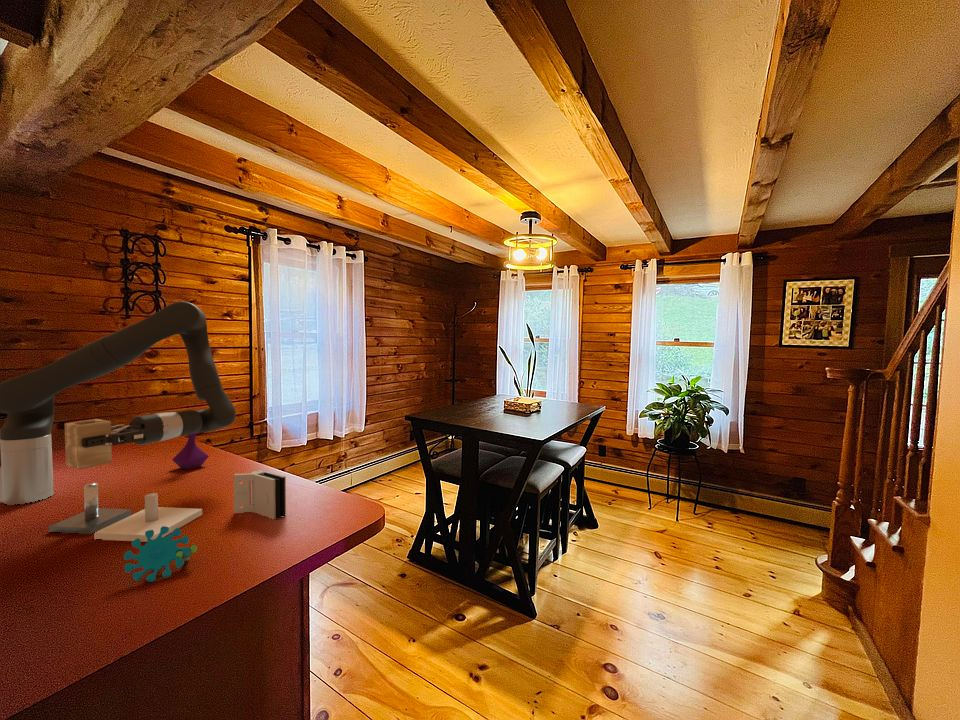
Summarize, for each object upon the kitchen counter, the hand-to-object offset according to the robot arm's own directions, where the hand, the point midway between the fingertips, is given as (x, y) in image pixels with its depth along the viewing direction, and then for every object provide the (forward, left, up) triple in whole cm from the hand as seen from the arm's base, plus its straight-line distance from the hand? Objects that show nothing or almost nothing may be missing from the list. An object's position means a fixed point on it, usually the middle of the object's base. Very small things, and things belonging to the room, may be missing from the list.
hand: (75, 441), depth 94 cm
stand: (+1, +2, -20) cm, 21 cm away
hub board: (+16, +2, -20) cm, 26 cm away
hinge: (+37, +11, -21) cm, 44 cm away
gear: (+34, -15, -21) cm, 42 cm away
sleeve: (+1, +2, -6) cm, 6 cm away
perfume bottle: (-8, +44, -21) cm, 50 cm away
